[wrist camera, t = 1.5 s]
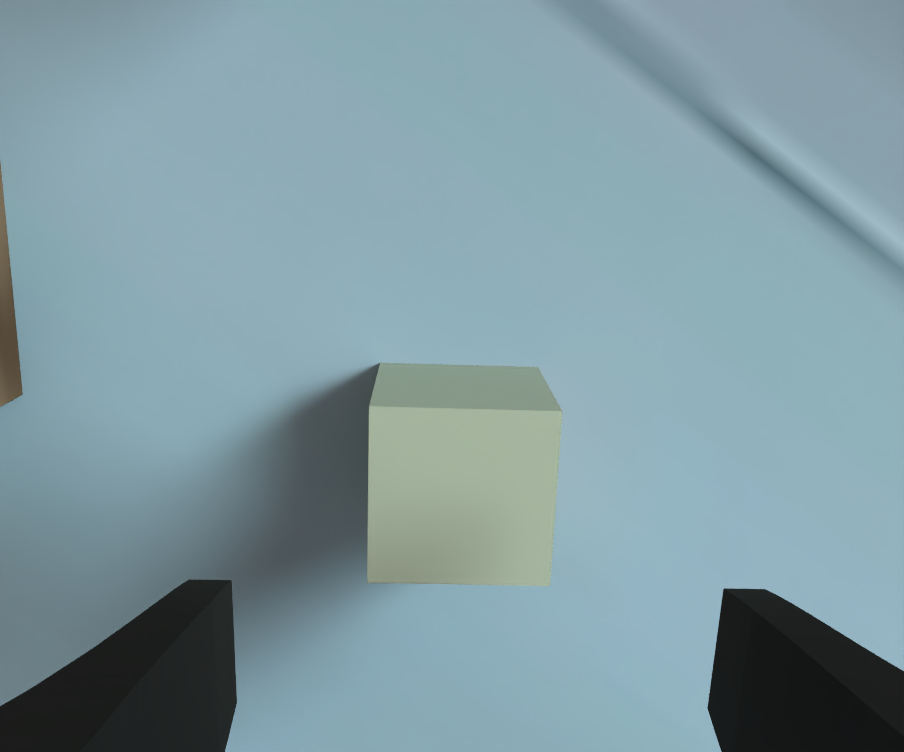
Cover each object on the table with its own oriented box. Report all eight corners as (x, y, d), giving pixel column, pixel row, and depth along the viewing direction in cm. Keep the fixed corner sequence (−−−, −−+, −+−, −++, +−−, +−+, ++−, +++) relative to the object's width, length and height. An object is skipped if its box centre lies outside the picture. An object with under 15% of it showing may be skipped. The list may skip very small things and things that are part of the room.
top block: (528, 511, 22) (549, 585, 18) (378, 508, 22) (367, 582, 18) (537, 366, 21) (562, 411, 17) (380, 362, 21) (369, 406, 17)
